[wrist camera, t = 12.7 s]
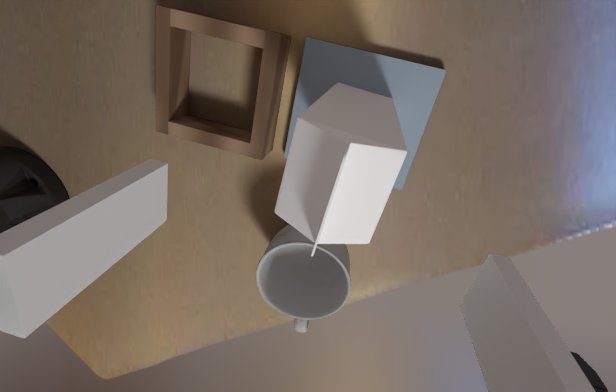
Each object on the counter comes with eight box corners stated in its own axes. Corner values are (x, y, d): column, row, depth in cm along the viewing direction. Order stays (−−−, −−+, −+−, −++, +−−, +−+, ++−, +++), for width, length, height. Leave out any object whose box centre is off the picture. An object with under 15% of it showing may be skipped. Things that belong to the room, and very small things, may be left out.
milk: (393, 98, 33) (419, 171, 14) (373, 153, 36) (370, 280, 16) (336, 81, 34) (281, 128, 14) (320, 136, 36) (255, 241, 17)
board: (285, 155, 39) (283, 158, 38) (308, 37, 34) (306, 37, 33) (401, 186, 38) (401, 190, 37) (444, 69, 32) (446, 70, 31)
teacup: (283, 199, 42) (263, 231, 35) (365, 225, 41) (363, 262, 34) (264, 282, 48) (244, 323, 41) (336, 305, 47) (328, 351, 40)
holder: (175, 123, 40) (155, 131, 37) (178, 9, 35) (155, 5, 31) (272, 149, 39) (261, 160, 36) (291, 36, 34) (281, 34, 30)
